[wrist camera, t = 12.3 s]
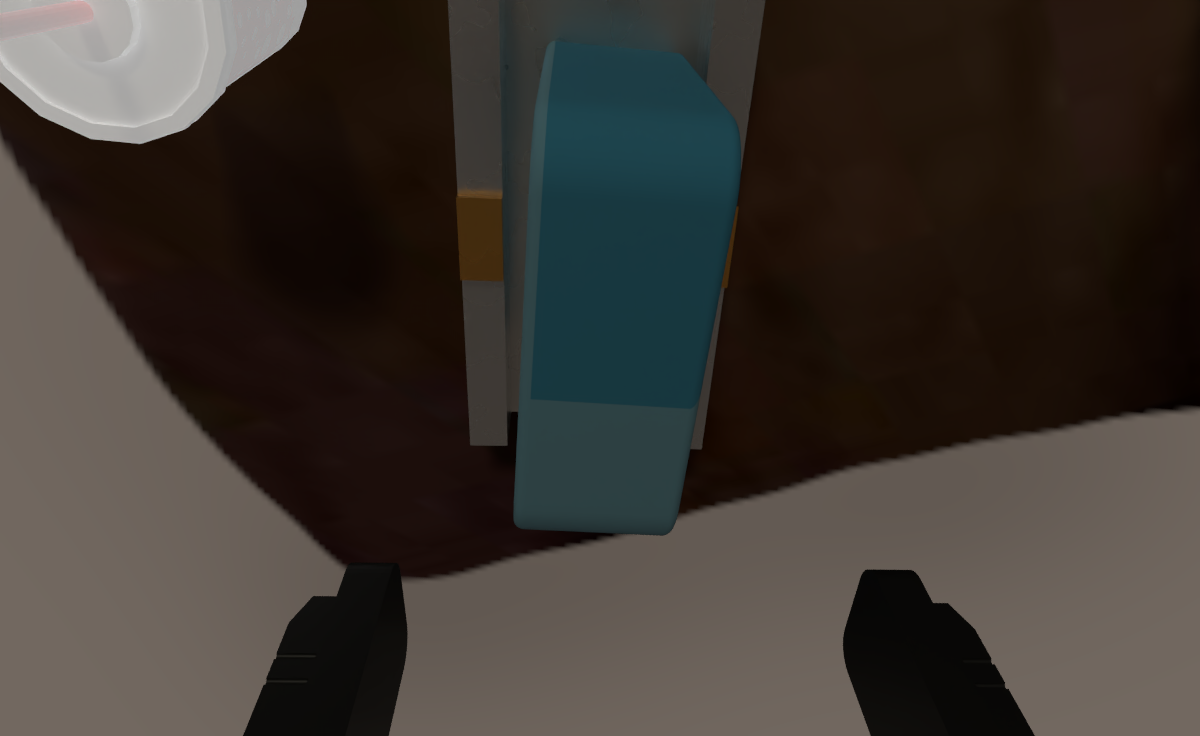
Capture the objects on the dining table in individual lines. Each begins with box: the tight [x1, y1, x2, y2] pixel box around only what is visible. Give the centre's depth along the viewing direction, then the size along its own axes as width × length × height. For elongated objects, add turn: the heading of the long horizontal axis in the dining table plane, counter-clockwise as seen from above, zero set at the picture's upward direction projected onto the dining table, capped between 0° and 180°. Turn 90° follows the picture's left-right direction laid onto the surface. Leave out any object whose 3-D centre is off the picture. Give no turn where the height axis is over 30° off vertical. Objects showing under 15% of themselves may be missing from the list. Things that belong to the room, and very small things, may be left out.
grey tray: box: [448, 0, 765, 449], centre depth 28 cm, size 10×18×4 cm, turn 177°
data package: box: [514, 41, 741, 535], centre depth 23 cm, size 12×4×12 cm, turn 175°
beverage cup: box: [0, 0, 307, 144], centre depth 19 cm, size 6×6×14 cm
